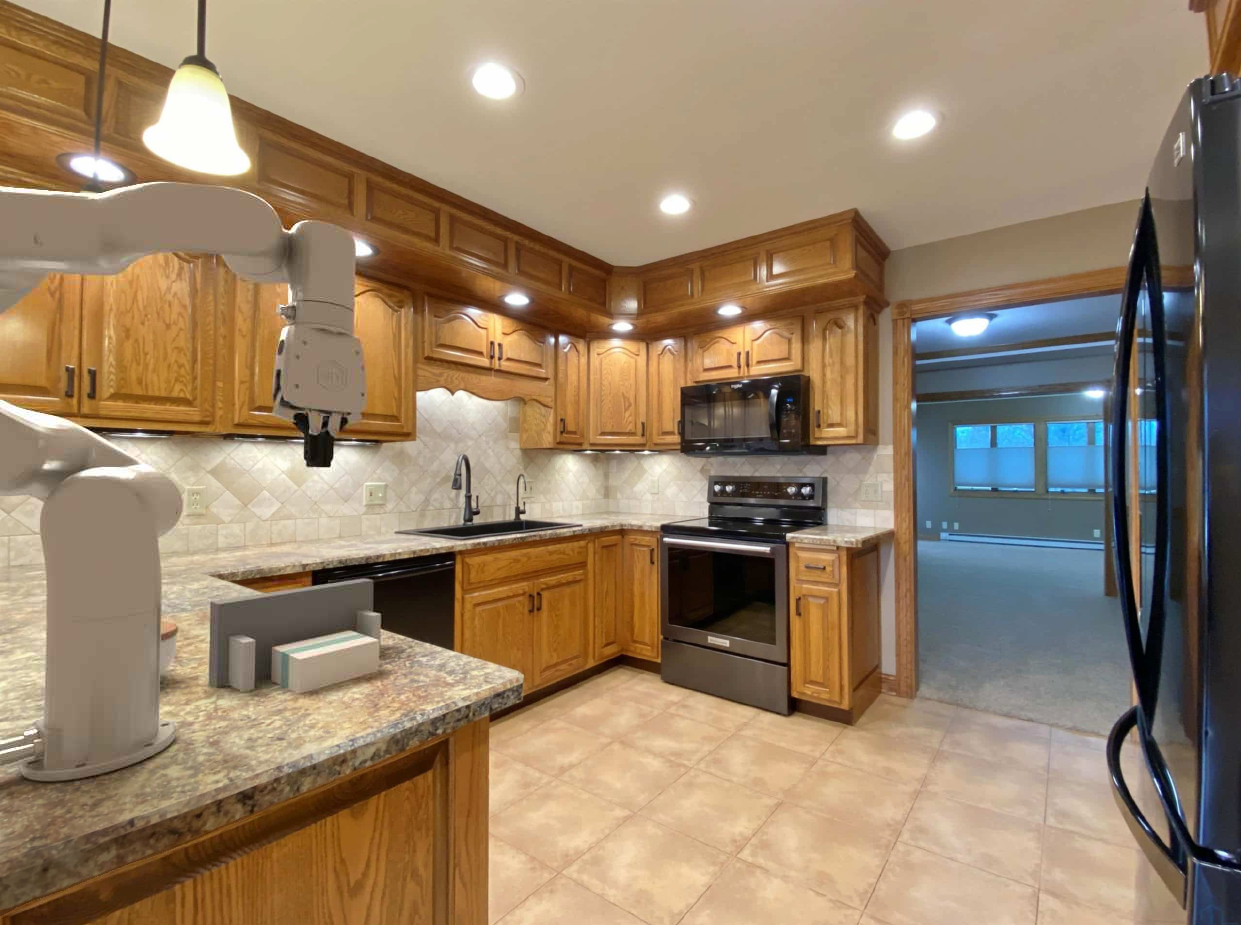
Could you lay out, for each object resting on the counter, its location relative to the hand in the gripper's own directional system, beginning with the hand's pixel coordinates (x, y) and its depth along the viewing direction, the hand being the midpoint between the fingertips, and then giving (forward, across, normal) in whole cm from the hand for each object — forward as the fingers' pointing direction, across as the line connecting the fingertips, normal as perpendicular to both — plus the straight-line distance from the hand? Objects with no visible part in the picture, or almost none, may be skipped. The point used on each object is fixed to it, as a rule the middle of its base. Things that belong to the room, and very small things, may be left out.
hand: (318, 466), depth 73 cm
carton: (+32, +9, +15) cm, 37 cm away
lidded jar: (+32, -10, +34) cm, 48 cm away
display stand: (+32, +9, +21) cm, 39 cm away
